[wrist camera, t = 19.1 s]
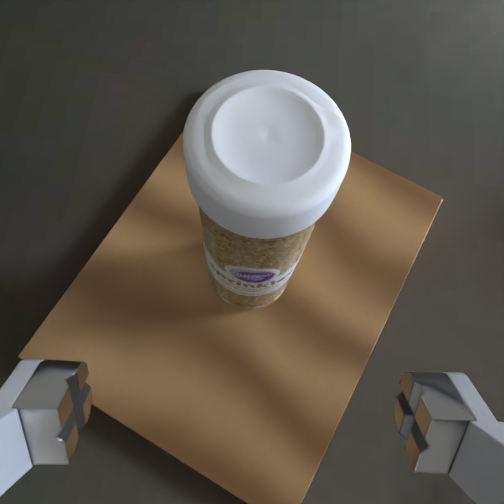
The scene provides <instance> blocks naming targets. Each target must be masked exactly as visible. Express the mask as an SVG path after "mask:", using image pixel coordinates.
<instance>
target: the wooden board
mask: <svg viewBox="0 0 504 504" xmlns="http://www.w3.org/2000/svg"><path fill="white" fill-rule="evenodd" d="M183 132H184V131H183ZM183 132H182V133H181V135H180V136H179V137H178V139H177V140H176V142H175V143H174V144H173V146H172V147H171V148H170V150H169V151H168V152H167V154H166V155H165V157H164V158H163V159H162V161H161V162H160V163H159V165H158V166H157V167H156V169H155V170H154V172H153V173H152V174H151V176H150V177H149V178H148V180H147V181H146V182H145V184H144V185H143V187H142V188H141V189H140V191H139V192H138V193H137V195H136V196H135V197H134V199H133V200H132V202H131V203H130V204H129V206H128V207H127V208H126V210H125V211H124V212H123V214H122V215H121V217H120V218H119V219H118V221H117V222H116V223H115V225H114V226H113V227H112V229H111V230H110V232H109V233H108V234H107V236H106V237H105V238H104V240H103V241H102V242H101V244H100V245H99V247H98V248H97V249H96V251H95V252H94V253H93V255H92V256H91V257H90V259H89V260H88V262H87V263H86V264H85V266H84V267H83V268H82V270H81V271H80V272H79V274H78V275H77V277H76V278H75V279H74V281H73V282H72V283H71V285H70V286H69V287H68V289H67V290H66V292H65V293H64V294H63V296H62V297H61V298H60V300H59V301H58V302H57V304H56V305H55V307H54V308H53V309H52V311H51V312H50V313H49V315H48V316H47V317H46V319H45V320H44V322H43V323H42V324H41V326H40V327H39V328H38V330H37V331H36V332H35V334H34V335H33V337H32V338H31V339H30V341H29V342H28V343H27V345H26V346H25V347H24V349H23V350H22V352H21V353H20V354H19V356H18V358H20V359H21V360H24V359H38V360H45V359H46V360H64V361H82V362H85V363H87V367H88V372H89V375H88V377H87V379H86V381H85V382H86V383H87V384H88V385H89V386H90V387H91V391H92V405H93V406H95V407H97V408H98V409H100V410H101V411H103V412H104V413H106V414H108V415H109V416H111V417H112V418H114V419H115V420H117V421H118V422H120V423H122V424H123V425H125V426H126V427H128V428H129V429H131V430H133V431H134V432H136V433H137V434H139V435H140V436H142V437H144V438H145V439H147V440H148V441H150V442H151V443H153V444H155V445H156V446H158V447H159V448H161V449H162V450H164V451H166V452H167V453H169V454H170V455H172V456H173V457H175V458H177V459H178V460H180V461H181V462H183V463H184V464H186V465H187V466H189V467H191V468H192V469H194V470H195V471H197V472H198V473H200V474H202V475H203V476H205V477H206V478H208V479H209V480H211V481H213V482H214V483H216V484H217V485H219V486H220V487H222V488H224V489H225V490H227V491H228V492H230V493H231V494H233V495H235V496H236V497H238V498H239V499H241V500H242V501H244V502H246V503H247V504H301V503H302V501H303V499H304V497H305V495H306V493H307V490H308V488H309V486H310V484H311V482H312V480H313V478H314V475H315V473H316V471H317V469H318V467H319V465H320V463H321V460H322V458H323V456H324V454H325V452H326V450H327V447H328V445H329V443H330V441H331V439H332V437H333V435H334V432H335V430H336V428H337V426H338V424H339V422H340V420H341V417H342V415H343V413H344V411H345V409H346V407H347V404H348V402H349V400H350V398H351V396H352V394H353V392H354V389H355V387H356V385H357V383H358V381H359V379H360V377H361V374H362V372H363V370H364V368H365V366H366V364H367V362H368V359H369V357H370V355H371V353H372V351H373V349H374V346H375V344H376V342H377V340H378V338H379V336H380V334H381V331H382V329H383V327H384V325H385V323H386V321H387V319H388V316H389V314H390V312H391V310H392V308H393V306H394V304H395V301H396V299H397V297H398V295H399V293H400V291H401V288H402V286H403V284H404V282H405V280H406V278H407V276H408V273H409V271H410V269H411V267H412V265H413V263H414V261H415V258H416V256H417V254H418V252H419V250H420V248H421V246H422V243H423V241H424V239H425V237H426V235H427V233H428V230H429V228H430V226H431V224H432V222H433V220H434V218H435V215H436V213H437V211H438V209H439V207H440V205H441V203H442V200H443V198H442V197H440V196H438V195H436V194H434V193H432V192H430V191H428V190H426V189H424V188H422V187H420V186H418V185H416V184H414V183H412V182H410V181H408V180H406V179H404V178H402V177H400V176H398V175H396V174H394V173H392V172H391V171H389V170H387V169H385V168H383V167H381V166H379V165H377V164H375V163H373V162H371V161H369V160H367V159H365V158H363V157H361V156H359V155H357V154H355V153H353V152H351V154H350V161H349V165H348V169H347V172H346V174H345V177H344V179H343V181H342V183H341V185H340V188H339V190H338V192H337V193H336V195H335V197H334V199H333V201H332V203H331V204H330V206H329V207H328V209H327V210H326V212H325V213H324V214H323V215H322V216H321V217H320V218H319V219H318V220H317V221H316V222H315V224H314V229H313V231H312V233H311V235H310V237H309V240H308V242H307V243H306V246H305V248H304V250H303V253H302V255H301V257H300V259H299V261H298V263H297V265H296V267H295V269H294V271H293V273H292V275H291V276H290V278H289V280H288V283H287V286H286V288H285V290H284V291H283V293H282V295H281V296H280V297H279V298H278V299H277V300H276V301H274V302H273V303H271V304H269V305H268V306H266V307H263V308H260V309H255V310H243V309H240V308H236V307H235V306H231V305H229V304H228V303H226V302H225V301H223V300H222V299H221V298H220V297H219V296H218V295H217V293H216V292H215V290H214V288H213V287H212V285H211V283H210V278H209V267H208V264H207V260H206V255H205V250H204V245H203V239H204V236H203V230H202V225H201V218H200V213H199V205H198V204H197V202H196V200H195V199H194V197H193V195H192V192H191V190H190V187H189V184H188V179H187V174H186V168H185V161H184V154H183Z"/></svg>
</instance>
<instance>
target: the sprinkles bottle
mask: <svg viewBox="0 0 504 504" xmlns="http://www.w3.org/2000/svg"><path fill="white" fill-rule="evenodd" d="M183 154H184V161H185V168H186V174H187V179H188V184H189V187H190V190H191V192H192V195H193V197H194V199H195V200H196V202H197V204H198V205H199V213H200V218H201V225H202V230H203V236H204V239H203V245H204V250H205V255H206V260H207V264H208V267H209V278H210V283H211V285H212V287H213V288H214V290H215V292H216V293H217V295H218V296H219V297H220V298H221V299H222V300H223V301H225V302H226V303H228V304H229V305H231V306H235V307H236V308H240V309H243V310H255V309H260V308H263V307H266V306H268V305H269V304H271V303H273V302H274V301H276V300H277V299H278V298H279V297H280V296H281V295H282V293H283V291H284V290H285V288H286V286H287V283H288V280H289V278H290V276H291V275H292V273H293V271H294V269H295V267H296V265H297V263H298V261H299V259H300V257H301V255H302V253H303V250H304V248H305V246H306V243H307V242H308V240H309V237H310V235H311V233H312V231H313V229H314V224H315V222H316V221H317V220H318V219H319V218H320V217H321V216H322V215H323V214H324V213H325V212H326V210H327V209H328V207H329V206H330V204H331V203H332V201H333V199H334V197H335V195H336V193H337V192H338V190H339V188H340V185H341V183H342V181H343V179H344V177H345V174H346V172H347V169H348V165H349V161H350V154H351V140H350V134H349V130H348V126H347V124H346V121H345V119H344V117H343V115H342V113H341V111H340V110H339V108H338V107H337V105H336V104H335V103H334V101H333V100H332V99H331V98H330V97H329V96H328V95H327V94H326V93H325V92H324V91H322V90H321V89H320V88H319V87H317V86H316V85H314V84H313V83H311V82H309V81H307V80H305V79H303V78H301V77H298V76H296V75H293V74H289V73H285V72H280V71H273V70H254V71H247V72H243V73H239V74H235V75H233V76H230V77H227V78H225V79H223V80H221V81H220V82H218V83H216V84H215V85H213V86H212V87H210V88H209V89H208V90H207V91H206V92H205V93H204V94H203V95H202V96H201V97H200V98H199V99H198V101H197V102H196V103H195V104H194V106H193V108H192V110H191V111H190V113H189V115H188V118H187V121H186V124H185V127H184V132H183Z"/></svg>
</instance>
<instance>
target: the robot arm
mask: <svg viewBox="0 0 504 504" xmlns="http://www.w3.org/2000/svg"><path fill="white" fill-rule="evenodd" d="M88 375H89V372H88V367H87V363H85V362H82V361H64V360H46V359H45V360H38V359H24V360H22V361H20V362H19V363H18V365H17V366H16V367H15V369H14V370H13V372H12V373H11V374H10V376H9V377H8V379H7V380H6V381H5V383H4V384H3V386H2V387H1V388H0V496H1V495H2V494H3V493H4V492H6V491H7V490H8V489H9V488H10V487H11V486H12V485H13V484H14V483H15V482H16V481H18V480H19V479H20V478H21V477H22V476H23V475H24V474H25V473H26V472H27V471H28V470H30V469H31V468H32V465H68V464H70V461H71V459H72V456H73V454H74V452H75V449H76V447H77V445H78V442H79V436H78V431H79V430H80V429H82V428H83V427H84V426H85V425H86V423H87V420H88V418H89V415H90V410H91V405H92V391H91V387H90V386H89V385H88V384H87V383H86V382H85V381H86V379H87V377H88ZM400 385H401V388H402V390H403V391H402V392H400V393H399V394H398V395H397V396H396V398H395V403H394V420H395V424H396V427H397V430H398V433H399V434H400V435H401V436H402V437H403V438H405V439H406V440H407V443H406V446H405V451H406V453H407V456H408V458H409V461H410V463H411V466H412V468H413V471H414V473H433V474H449V477H450V478H451V479H452V480H453V481H454V482H455V483H456V484H457V485H458V486H459V487H460V488H461V489H462V490H463V491H464V492H465V493H466V494H467V495H468V496H469V497H470V499H471V500H472V501H473V502H474V503H475V504H504V422H498V421H497V420H496V418H495V417H494V415H493V414H492V412H491V411H490V409H489V408H488V407H487V405H486V404H485V402H484V401H483V399H482V398H481V396H480V395H479V393H478V392H477V390H476V389H475V387H474V386H473V384H472V383H471V381H470V380H469V378H468V377H467V375H465V374H464V373H459V372H443V373H439V372H404V373H403V375H402V376H401V380H400Z"/></svg>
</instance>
